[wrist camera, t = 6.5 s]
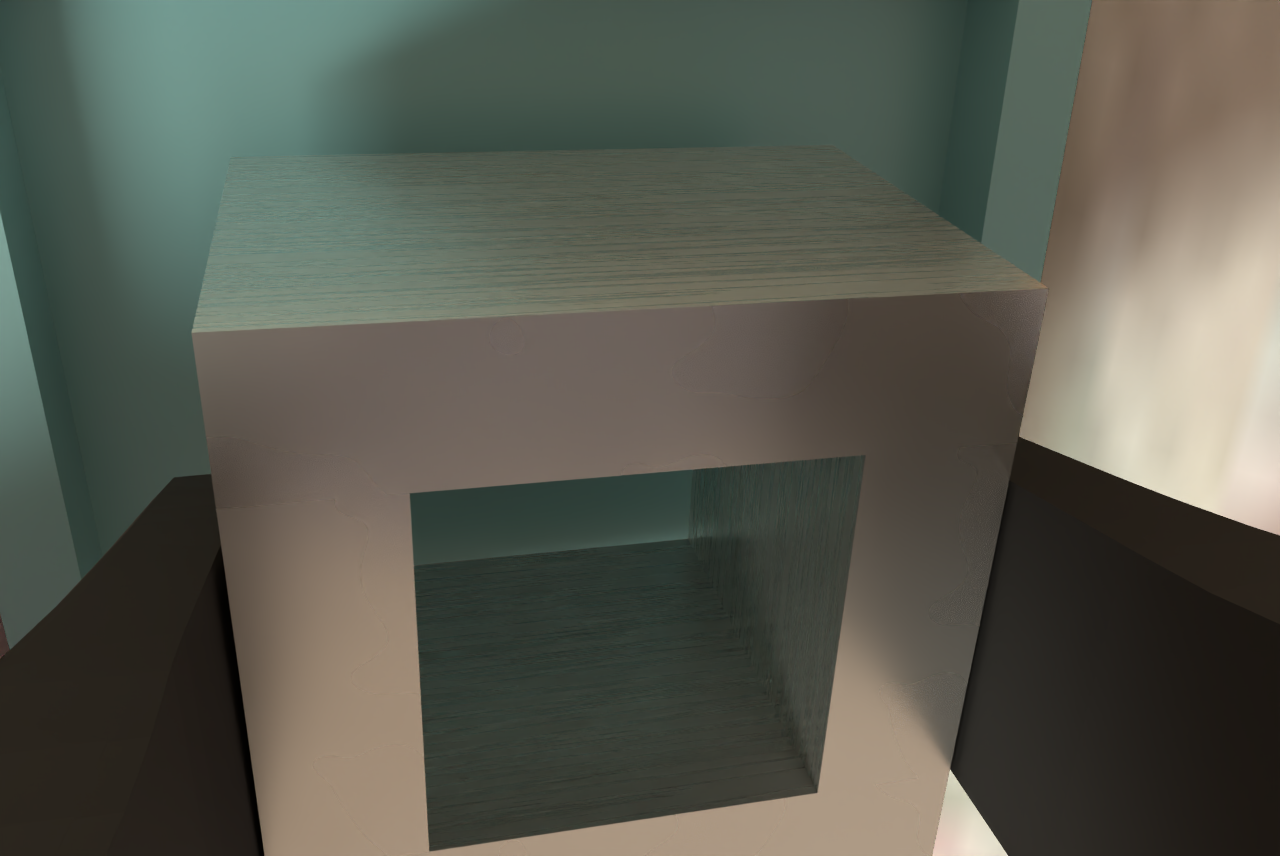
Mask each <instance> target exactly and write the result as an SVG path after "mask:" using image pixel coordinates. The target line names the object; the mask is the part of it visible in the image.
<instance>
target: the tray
mask: <svg viewBox="0 0 1280 856" xmlns="http://www.w3.org/2000/svg"><path fill="white" fill-rule="evenodd" d="M1091 3H1092V0H0V615H1V619H2V623H3V627H4V630H5V634H6V638H7V642H8V646H9V650H10V649H11V648H13V647H14V646H15V645H16V644H17V643H18V642H19V641H20V640H21V639H22V638H23V637H24V636H25V635H26V634H27V633H28V632H29V631H30V630H32V629H33V628H34V627H35V626H36V625H37V624H38V623H39V622H40V621H41V620H42V619H43V618H44V617H45V616H46V615H47V614H48V613H50V612H51V611H52V610H53V609H54V608H55V607H56V606H57V605H58V604H59V603H60V602H61V601H62V599H63V598H64V597H65V596H66V595H67V594H68V593H69V592H70V591H71V590H72V589H73V588H74V587H75V586H76V585H77V584H78V582H79V581H80V580H81V579H82V578H83V577H84V576H85V575H86V574H87V573H88V572H89V571H90V570H91V569H92V568H93V567H94V565H95V564H96V563H97V562H98V561H99V560H100V559H101V558H102V557H103V556H104V555H105V553H106V552H107V551H108V550H109V549H110V548H111V547H112V546H113V544H114V543H115V542H116V541H117V540H118V539H119V538H120V537H121V535H122V534H123V533H124V532H125V531H126V530H127V529H128V527H129V526H130V525H131V524H132V523H133V522H134V521H135V519H136V518H137V517H138V516H139V515H140V514H141V513H142V511H143V510H144V509H145V508H146V507H147V506H148V505H149V503H150V502H151V501H152V500H153V499H154V498H155V497H156V496H157V495H158V494H159V493H160V492H161V491H162V489H163V488H164V487H165V486H166V485H167V484H168V483H169V482H170V481H171V480H172V479H173V478H174V477H183V476H194V475H205V474H211V469H210V462H209V455H208V448H207V440H206V433H205V426H204V419H203V412H202V405H201V397H200V390H199V383H198V376H197V369H196V362H195V355H194V347H193V340H192V328H193V324H194V319H195V315H196V310H197V306H198V301H199V297H200V292H201V288H202V283H203V279H204V275H205V270H206V266H207V261H208V257H209V252H210V248H211V243H212V239H213V234H214V230H215V225H216V221H217V216H218V212H219V208H220V203H221V199H222V194H223V190H224V185H225V181H226V176H227V172H228V167H229V163H230V158H231V157H263V156H312V155H360V154H409V153H458V152H507V151H556V150H605V149H653V148H702V147H751V146H800V145H833V146H835V147H836V148H838V149H839V150H841V151H842V152H844V153H845V154H847V155H849V156H850V157H852V158H853V159H855V160H856V161H858V162H859V163H861V164H862V165H864V166H865V167H867V168H868V169H870V170H871V171H873V172H874V173H876V174H877V175H879V176H880V177H882V178H883V179H885V180H886V181H888V182H889V183H891V184H892V185H894V186H895V187H897V188H898V189H900V190H901V191H903V192H904V193H906V194H907V195H909V196H910V197H912V198H913V199H915V200H916V201H918V202H919V203H921V204H922V205H924V206H925V207H927V208H928V209H930V210H931V211H933V212H934V213H936V214H938V215H939V216H941V217H942V218H944V219H945V220H947V221H948V222H950V223H951V224H953V225H954V226H956V227H957V228H959V229H960V230H962V231H963V232H965V233H966V234H968V235H969V236H971V237H972V238H974V239H975V240H977V241H978V242H980V243H981V244H983V245H984V246H986V247H987V248H989V249H990V250H992V251H993V252H995V253H996V254H998V255H999V256H1001V257H1002V258H1004V259H1005V260H1007V261H1008V262H1010V263H1011V264H1013V265H1014V266H1016V267H1017V268H1019V269H1020V270H1022V271H1023V272H1025V273H1026V274H1028V275H1030V276H1031V277H1033V278H1034V279H1036V280H1037V281H1039V282H1040V283H1041V277H1042V272H1043V266H1044V261H1045V255H1046V250H1047V244H1048V239H1049V233H1050V228H1051V222H1052V217H1053V212H1054V206H1055V201H1056V195H1057V190H1058V184H1059V179H1060V173H1061V168H1062V162H1063V157H1064V151H1065V146H1066V140H1067V135H1068V129H1069V124H1070V118H1071V113H1072V107H1073V102H1074V96H1075V91H1076V86H1077V80H1078V75H1079V69H1080V64H1081V58H1082V53H1083V47H1084V42H1085V36H1086V31H1087V25H1088V20H1089V14H1090V9H1091ZM692 473H693V470H681V471H669V472H657V473H645V474H633V475H621V476H609V477H597V478H585V479H573V480H561V481H549V482H537V483H526V484H514V485H502V486H490V487H478V488H466V489H454V490H442V491H430V492H418V493H410V508H411V526H412V544H413V563H414V565H424V564H434V563H444V562H455V561H465V560H475V559H485V558H496V557H506V556H516V555H526V554H537V553H547V552H557V551H568V550H578V549H588V548H598V547H609V546H619V545H629V544H639V543H650V542H660V541H670V540H681V539H688V532H689V517H690V502H691V488H692Z"/></svg>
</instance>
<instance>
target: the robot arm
mask: <svg viewBox="0 0 1280 856" xmlns="http://www.w3.org/2000/svg"><path fill="white" fill-rule="evenodd" d="M950 770H951V771H952V772H953V774H954V775H955V777H956V778H957V780H958V781H959V783H960V784H961V786H962V787H963V789H964V790H965V792H966V793H967V795H968V796H969V798H970V799H971V801H972V802H973V804H974V805H975V807H976V808H977V810H978V811H979V813H980V814H981V816H982V817H983V819H984V820H985V822H986V823H987V825H988V826H989V828H990V829H991V831H992V832H993V834H994V835H995V837H996V838H997V840H998V841H999V843H1000V844H1001V846H1002V847H1003V849H1004V850H1005V851H1006V853H1007V854H1008V856H1280V536H1279V535H1276V534H1273V533H1270V532H1267V531H1264V530H1260V529H1257V528H1254V527H1251V526H1248V525H1245V524H1243V523H1240V522H1237V521H1234V520H1231V519H1229V518H1226V517H1223V516H1220V515H1217V514H1215V513H1212V512H1209V511H1206V510H1203V509H1201V508H1198V507H1195V506H1192V505H1189V504H1186V503H1184V502H1181V501H1178V500H1176V499H1173V498H1170V497H1168V496H1165V495H1163V494H1160V493H1157V492H1155V491H1152V490H1149V489H1147V488H1144V487H1142V486H1139V485H1137V484H1134V483H1132V482H1129V481H1127V480H1124V479H1121V478H1119V477H1116V476H1114V475H1111V474H1109V473H1107V472H1104V471H1102V470H1099V469H1097V468H1094V467H1092V466H1089V465H1087V464H1084V463H1082V462H1079V461H1077V460H1075V459H1072V458H1070V457H1067V456H1065V455H1062V454H1060V453H1057V452H1055V451H1053V450H1050V449H1048V448H1045V447H1043V446H1040V445H1038V444H1035V443H1033V442H1030V441H1028V440H1025V439H1023V438H1021V437H1018V441H1017V446H1016V451H1015V455H1014V460H1013V465H1012V470H1011V475H1010V480H1009V485H1008V489H1007V494H1006V499H1005V504H1004V509H1003V514H1002V519H1001V523H1000V528H999V533H998V538H997V543H996V548H995V553H994V557H993V562H992V567H991V572H990V577H989V582H988V587H987V591H986V596H985V601H984V606H983V611H982V616H981V621H980V625H979V630H978V635H977V640H976V645H975V650H974V655H973V659H972V664H971V669H970V674H969V679H968V684H967V689H966V693H965V698H964V703H963V708H962V713H961V718H960V723H959V727H958V732H957V737H956V742H955V747H954V752H953V757H952V761H951V766H950ZM0 856H265V855H264V848H263V841H262V834H261V827H260V819H259V812H258V805H257V798H256V791H255V784H254V776H253V769H252V762H251V755H250V748H249V741H248V734H247V726H246V719H245V712H244V705H243V698H242V691H241V684H240V676H239V669H238V662H237V655H236V648H235V641H234V633H233V626H232V619H231V612H230V605H229V598H228V591H227V583H226V576H225V569H224V562H223V555H222V548H221V540H220V533H219V526H218V519H217V512H216V505H215V498H214V490H213V483H212V476H211V474H205V475H194V476H183V477H174V478H173V479H172V480H171V481H170V482H169V483H168V484H167V485H166V486H165V487H164V488H163V489H162V491H161V492H160V493H159V494H158V495H157V496H156V497H155V498H154V499H153V500H152V501H151V502H150V503H149V505H148V506H147V507H146V508H145V509H144V510H143V511H142V513H141V514H140V515H139V516H138V517H137V518H136V519H135V521H134V522H133V523H132V524H131V525H130V526H129V527H128V529H127V530H126V531H125V532H124V533H123V534H122V535H121V537H120V538H119V539H118V540H117V541H116V542H115V543H114V544H113V546H112V547H111V548H110V549H109V550H108V551H107V552H106V553H105V555H104V556H103V557H102V558H101V559H100V560H99V561H98V562H97V563H96V564H95V565H94V567H93V568H92V569H91V570H90V571H89V572H88V573H87V574H86V575H85V576H84V577H83V578H82V579H81V580H80V581H79V582H78V584H77V585H76V586H75V587H74V588H73V589H72V590H71V591H70V592H69V593H68V594H67V595H66V596H65V597H64V598H63V599H62V601H61V602H60V603H59V604H58V605H57V606H56V607H55V608H54V609H53V610H52V611H51V612H50V613H48V614H47V615H46V616H45V617H44V618H43V619H42V620H41V621H40V622H39V623H38V624H37V625H36V626H35V627H34V628H33V629H32V630H30V631H29V632H28V633H27V634H26V635H25V636H24V637H23V638H22V639H21V640H20V641H19V642H18V643H17V644H16V645H15V646H14V647H13V648H11V649H10V650H9V651H8V652H7V653H6V654H5V655H4V656H3V657H2V658H1V659H0Z"/></svg>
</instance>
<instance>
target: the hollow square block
mask: <svg viewBox="0 0 1280 856" xmlns="http://www.w3.org/2000/svg"><path fill="white" fill-rule="evenodd" d="M1048 290H1049V288H1048V287H1046V286H1045V285H1043V284H1042V283H1040V282H1039V281H1037V280H1036V279H1034V278H1033V277H1031V276H1030V275H1028V274H1026V273H1025V272H1023V271H1022V270H1020V269H1019V268H1017V267H1016V266H1014V265H1013V264H1011V263H1010V262H1008V261H1007V260H1005V259H1004V258H1002V257H1001V256H999V255H998V254H996V253H995V252H993V251H992V250H990V249H989V248H987V247H986V246H984V245H983V244H981V243H980V242H978V241H977V240H975V239H974V238H972V237H971V236H969V235H968V234H966V233H965V232H963V231H962V230H960V229H959V228H957V227H956V226H954V225H953V224H951V223H950V222H948V221H947V220H945V219H944V218H942V217H941V216H939V215H938V214H936V213H934V212H933V211H931V210H930V209H928V208H927V207H925V206H924V205H922V204H921V203H919V202H918V201H916V200H915V199H913V198H912V197H910V196H909V195H907V194H906V193H904V192H903V191H901V190H900V189H898V188H897V187H895V186H894V185H892V184H891V183H889V182H888V181H886V180H885V179H883V178H882V177H880V176H879V175H877V174H876V173H874V172H873V171H871V170H870V169H868V168H867V167H865V166H864V165H862V164H861V163H859V162H858V161H856V160H855V159H853V158H852V157H850V156H849V155H847V154H845V153H844V152H842V151H841V150H839V149H838V148H836V147H835V146H833V145H800V146H751V147H702V148H653V149H605V150H556V151H507V152H458V153H409V154H360V155H312V156H263V157H231V158H230V163H229V167H228V172H227V176H226V181H225V185H224V190H223V194H222V199H221V203H220V208H219V212H218V216H217V221H216V225H215V230H214V234H213V239H212V243H211V248H210V252H209V257H208V261H207V266H206V270H205V275H204V279H203V283H202V288H201V292H200V297H199V301H198V306H197V310H196V315H195V319H194V324H193V328H192V340H193V347H194V355H195V362H196V369H197V376H198V383H199V390H200V397H201V405H202V412H203V419H204V426H205V433H206V440H207V448H208V455H209V462H210V469H211V476H212V483H213V490H214V498H215V505H216V512H217V519H218V526H219V533H220V540H221V548H222V555H223V562H224V569H225V576H226V583H227V591H228V598H229V605H230V612H231V619H232V626H233V633H234V641H235V648H236V655H237V662H238V669H239V676H240V684H241V691H242V698H243V705H244V712H245V719H246V726H247V734H248V741H249V748H250V755H251V762H252V769H253V776H254V784H255V791H256V798H257V805H258V812H259V819H260V827H261V834H262V841H263V848H264V855H265V856H932V854H933V849H934V844H935V839H936V834H937V829H938V825H939V820H940V815H941V810H942V805H943V800H944V795H945V791H946V786H947V781H948V776H949V771H950V766H951V761H952V757H953V752H954V747H955V742H956V737H957V732H958V727H959V723H960V718H961V713H962V708H963V703H964V698H965V693H966V689H967V684H968V679H969V674H970V669H971V664H972V659H973V655H974V650H975V645H976V640H977V635H978V630H979V625H980V621H981V616H982V611H983V606H984V601H985V596H986V591H987V587H988V582H989V577H990V572H991V567H992V562H993V557H994V553H995V548H996V543H997V538H998V533H999V528H1000V523H1001V519H1002V514H1003V509H1004V504H1005V499H1006V494H1007V489H1008V485H1009V480H1010V475H1011V470H1012V465H1013V460H1014V455H1015V451H1016V446H1017V441H1018V436H1019V431H1020V426H1021V421H1022V417H1023V412H1024V407H1025V402H1026V397H1027V392H1028V388H1029V383H1030V378H1031V373H1032V368H1033V363H1034V358H1035V354H1036V349H1037V344H1038V339H1039V334H1040V329H1041V324H1042V320H1043V315H1044V310H1045V305H1046V300H1047V295H1048ZM681 470H693V473H692V488H691V502H690V517H689V532H688V539H681V540H670V541H660V542H650V543H639V544H629V545H619V546H609V547H598V548H588V549H578V550H568V551H557V552H547V553H537V554H526V555H516V556H506V557H496V558H485V559H475V560H465V561H455V562H444V563H434V564H424V565H414V563H413V544H412V526H411V508H410V493H418V492H430V491H442V490H454V489H466V488H478V487H490V486H502V485H514V484H526V483H537V482H549V481H561V480H573V479H585V478H597V477H609V476H621V475H633V474H645V473H657V472H669V471H681Z"/></svg>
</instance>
